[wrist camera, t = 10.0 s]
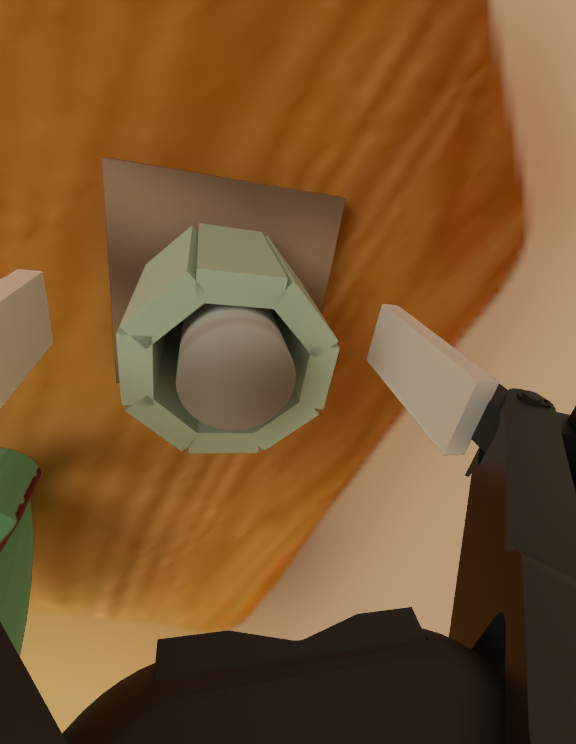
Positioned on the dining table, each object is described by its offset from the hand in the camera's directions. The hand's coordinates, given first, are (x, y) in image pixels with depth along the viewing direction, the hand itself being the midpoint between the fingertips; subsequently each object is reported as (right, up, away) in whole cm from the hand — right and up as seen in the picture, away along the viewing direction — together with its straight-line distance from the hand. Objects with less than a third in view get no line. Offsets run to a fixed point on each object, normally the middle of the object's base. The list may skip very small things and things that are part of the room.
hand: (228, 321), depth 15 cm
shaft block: (-1, +2, +4) cm, 4 cm away
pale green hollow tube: (-1, +1, +2) cm, 3 cm away
